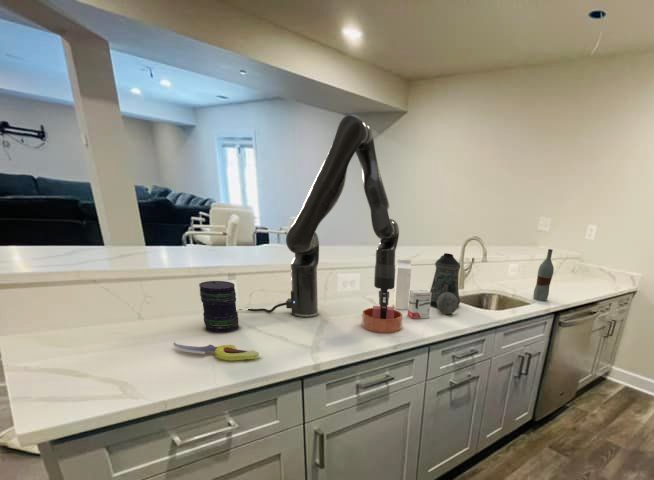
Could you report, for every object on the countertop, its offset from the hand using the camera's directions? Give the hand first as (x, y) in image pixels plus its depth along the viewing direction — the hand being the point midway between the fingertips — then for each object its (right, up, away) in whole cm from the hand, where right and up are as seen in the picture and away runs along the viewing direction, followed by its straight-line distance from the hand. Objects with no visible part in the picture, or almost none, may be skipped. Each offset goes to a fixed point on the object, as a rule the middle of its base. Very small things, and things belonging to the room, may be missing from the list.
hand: (383, 318), depth 150 cm
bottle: (+79, +21, +85) cm, 118 cm away
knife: (-41, -15, -39) cm, 59 cm away
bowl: (-1, -3, +1) cm, 3 cm away
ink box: (+12, +3, +19) cm, 23 cm away
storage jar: (-50, -6, -21) cm, 54 cm away
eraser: (0, 0, 0) cm, 0 cm away
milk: (+2, +8, +29) cm, 31 cm away
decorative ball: (+24, +5, +30) cm, 38 cm away
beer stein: (+20, +12, +44) cm, 50 cm away
